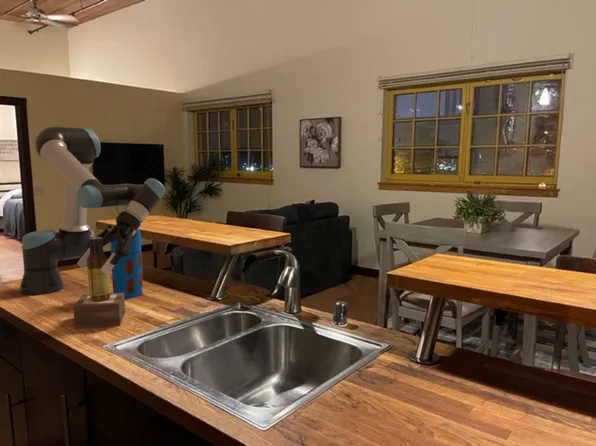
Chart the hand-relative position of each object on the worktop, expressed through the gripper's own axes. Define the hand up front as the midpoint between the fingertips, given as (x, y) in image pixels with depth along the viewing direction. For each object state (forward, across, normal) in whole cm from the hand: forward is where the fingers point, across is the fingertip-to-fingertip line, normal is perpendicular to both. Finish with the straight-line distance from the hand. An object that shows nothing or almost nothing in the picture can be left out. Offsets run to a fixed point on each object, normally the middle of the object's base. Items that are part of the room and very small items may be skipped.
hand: (91, 269), depth 142 cm
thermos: (-5, +19, -30) cm, 35 cm away
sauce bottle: (+6, 0, -9) cm, 11 cm away
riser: (+10, 0, -14) cm, 17 cm away
